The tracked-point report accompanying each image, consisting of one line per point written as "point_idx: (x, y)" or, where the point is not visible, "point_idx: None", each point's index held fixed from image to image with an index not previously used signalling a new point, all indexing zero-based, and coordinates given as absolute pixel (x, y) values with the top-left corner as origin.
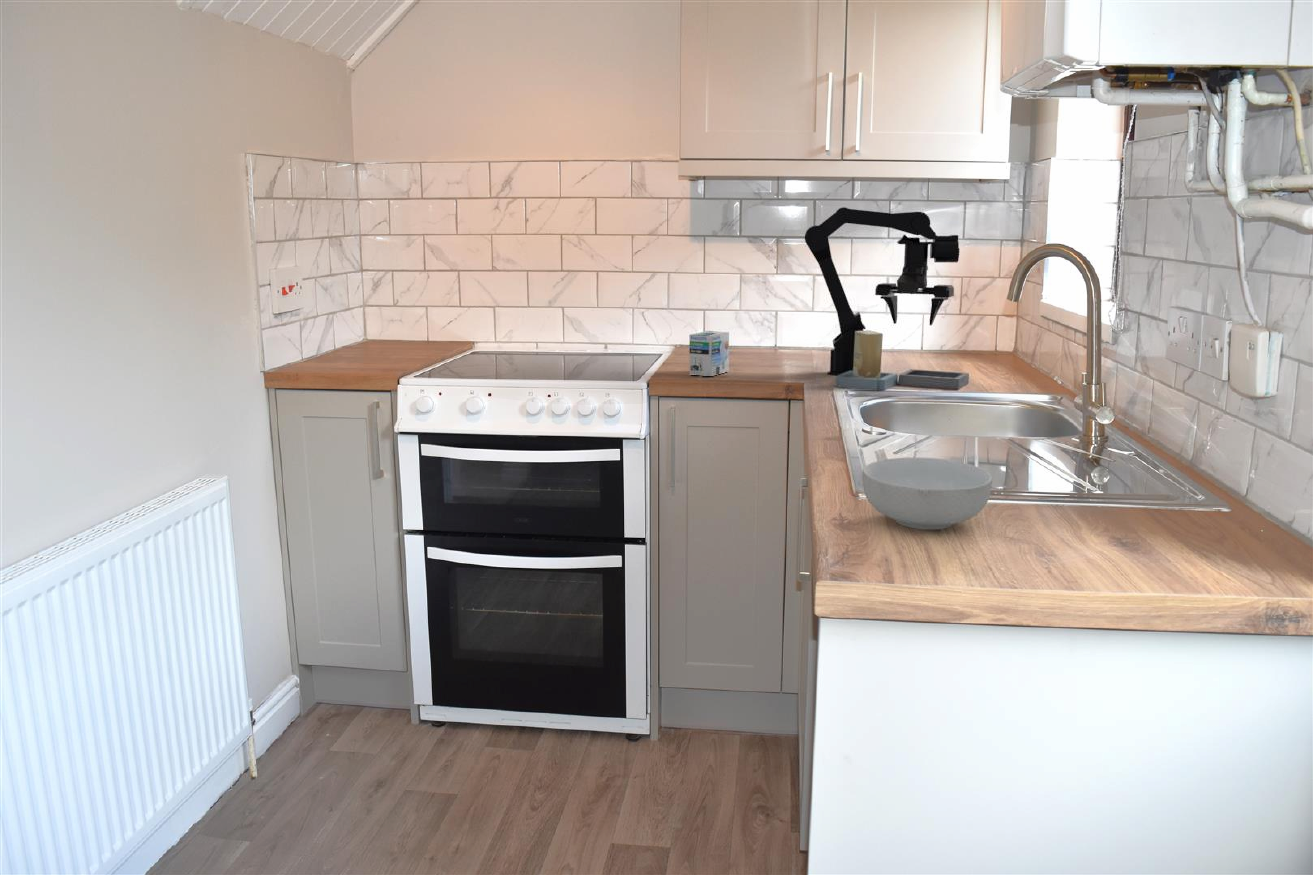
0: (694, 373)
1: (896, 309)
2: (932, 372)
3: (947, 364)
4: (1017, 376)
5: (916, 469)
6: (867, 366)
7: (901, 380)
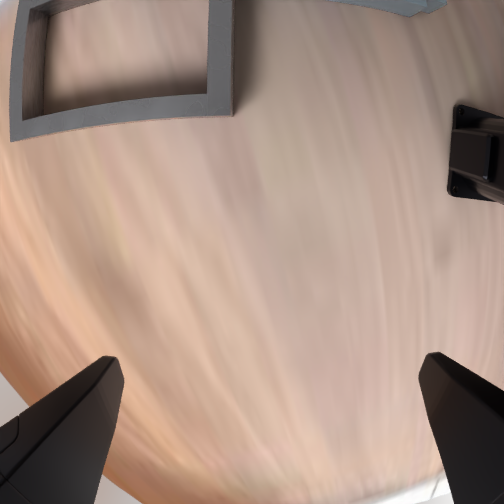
0: None
1: (460, 472)
2: (125, 101)
3: (219, 443)
4: (5, 327)
5: None
6: None
7: None
